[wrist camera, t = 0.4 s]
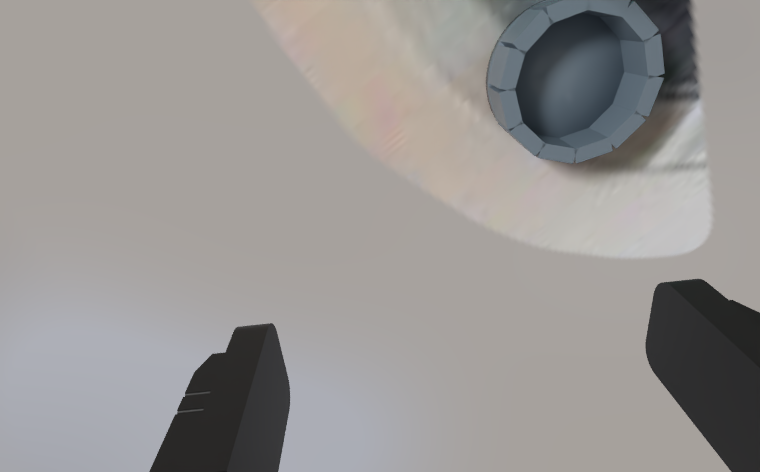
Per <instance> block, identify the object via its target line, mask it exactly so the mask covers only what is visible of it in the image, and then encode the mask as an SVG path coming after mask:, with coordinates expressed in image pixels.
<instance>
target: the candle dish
mask: <svg viewBox="0 0 760 472" xmlns="http://www.w3.org/2000/svg"><path fill="white" fill-rule="evenodd" d="M658 30H659V29H658V28H657V27H656V26H655V25H654V23H653V22H652V21H651V20H650V19H649V18H648V16H647V15H646V14H645V13H644V12H643V10H642V9H641V8H640V7H639V6H638V5H637V3H636V2H635V1H630V0H543V1H541V2H539V3H537V4H535V5H533V6H531V7H530V8H528V9H526V10H525V11H523V12H522V13H521V14H520V15H518V16H517V17H516V18H515V19H514V20H513V21H512V22H511V23H510V24H509V25H508V26H507V28H506V29H505V30H504V32H503V33H502V34H501V36H500V38H499V39H498V41H497V43H496V45H495V47H494V49H493V51H492V54H491V57H490V60H489V64H488V69H487V76H486V90H487V97H488V102H489V105H490V108H491V111H492V113H493V115H494V117H495V118H496V121H498V124H499V125H500V126H501V127H502V128H503V129H504V130H505V131H506V132H507V133H509V134H510V135H511V136H512V137H513V138H514V139H515V140H516V141H517V142H518V143H520V144H521V145H522V146H523V147H524V148H525V149H527V150H528V151H529V152H530V153H532V154H533V155H534V156H537V157H538V158H542V159H548V160H554V161H559V162H565V163H571V164H573V161H574V162H575V163H579V162H582V161H585V160H588V159H591V158H594V157H597V156H600V155H603V154H606V153H608V152H611V151H613V150H612V147H614V148H616V149H617V148H618V147H619V146H620V145H621V144H622V143H623V142H624V141H625V140H626V139H627V138H628V137H629V136H630V135H631V134H632V133H633V132H634V131H635V130H636V129H638V128H639V127H640V126H641V125H642V124H643V123H644V122H645V121H646V120H645V119H644V118H643V117H642V116H641V115H643V116H648V117H649V114H650V112H651V109H652V107H653V104H654V102H655V99H656V97H657V94H658V92H659V89H660V87H661V84H662V82H663V79H664V78H662V77H657V76H659V75H662V74H665V71H664V61H663V52H662V42H661V34H655V33H656V32H657V31H658Z"/></svg>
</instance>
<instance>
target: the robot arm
mask: <svg viewBox="0 0 760 472" xmlns="http://www.w3.org/2000/svg"><path fill="white" fill-rule="evenodd" d="M646 354H647V358H648V361H649V364H650V366H651V368H652V370H653V372H654V373H655V374H656V376H657V377H658V378H659V380H660V381H661V382H662V383H663V385H664V386H665V387H666V389H667V390H668V391H669V392H670V394H671V395H672V396H673V398H674V399H675V400H676V401H677V403H678V404H679V405H680V407H681V408H682V409H683V410H684V412H685V413H686V414H687V415H688V417H689V418H690V419H691V421H692V422H693V423H694V424H695V426H696V427H697V428H698V429H699V431H700V432H701V433H702V434H703V436H704V437H705V438H706V440H707V441H708V442H709V443H710V445H711V446H712V447H713V449H714V450H715V451H716V452H717V454H718V455H719V456H720V458H721V459H722V460H723V461H724V463H725V464H726V465H727V466H728V468H729V469H730V470H731V471H732V472H760V313H759V312H757V311H755V310H752V309H750V308H748V307H746V306H744V305H742V304H740V303H738V302H735V301H733V300H728V299H727V298H725V297H724V296H723V295H721V294H720V293H719V292H718V291H717V290H715V289H714V288H713V287H712V286H711V285H709V284H708V283H707V282H705V281H704V280H702V279H692V280H682V281H674V282H664V283H660V284H658V286H657V287H656V289H655V291H654V296H653V302H652V308H651V314H650V320H649V325H648V331H647V337H646ZM289 407H290V387H289V380H288V376H287V372H286V367H285V363H284V359H283V355H282V351H281V347H280V343H279V339H278V335H277V331H276V328H275V326H274V325H273V324H272V323H270V324H262V325H252V326H243V327H237V328H236V329H235V330H234V332H233V335H232V338H231V340H230V343H229V345H228V348H227V350H226V353H217V354H212V355H211V356H210V357H209V358H208V359H207V360H206V361H205V362H204V363H203V364H202V365H201V366H200V367H199V368H198V369H197V370H196V371H195V373H194V375H193V377H192V379H191V381H190V383H189V385H188V388H187V390H186V392H185V397H183V399H182V401H181V403H180V405H179V408H178V410H177V411H178V413H177V415H175V417H174V419H173V421H172V423H171V425H170V428H169V430H168V432H167V434H166V436H165V438H164V441H163V443H162V445H161V447H160V449H159V452H158V454H157V456H156V458H155V461H154V463H153V465H152V467H151V469H150V472H278V469H279V464H280V458H281V453H282V447H283V442H284V436H285V430H286V425H287V419H288V414H289Z"/></svg>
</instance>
